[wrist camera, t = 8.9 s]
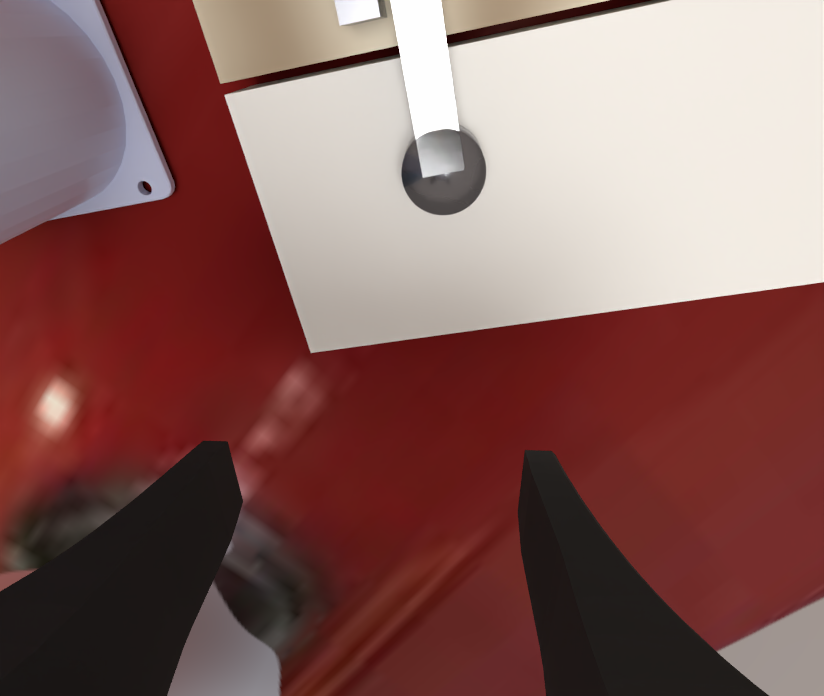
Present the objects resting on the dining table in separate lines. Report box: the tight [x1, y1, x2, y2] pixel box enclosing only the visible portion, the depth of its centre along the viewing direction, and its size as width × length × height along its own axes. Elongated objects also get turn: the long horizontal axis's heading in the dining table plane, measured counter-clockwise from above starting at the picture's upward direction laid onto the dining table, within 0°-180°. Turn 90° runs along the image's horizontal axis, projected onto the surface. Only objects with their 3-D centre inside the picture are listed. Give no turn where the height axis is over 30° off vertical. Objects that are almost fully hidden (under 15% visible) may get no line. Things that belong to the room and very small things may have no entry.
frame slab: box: [224, 0, 824, 353], centre depth 18 cm, size 18×9×3 cm, turn 101°
